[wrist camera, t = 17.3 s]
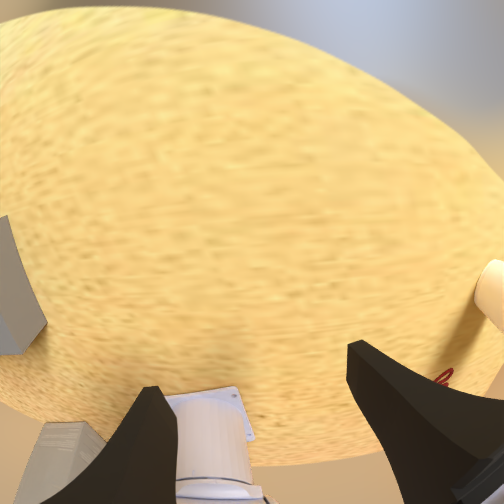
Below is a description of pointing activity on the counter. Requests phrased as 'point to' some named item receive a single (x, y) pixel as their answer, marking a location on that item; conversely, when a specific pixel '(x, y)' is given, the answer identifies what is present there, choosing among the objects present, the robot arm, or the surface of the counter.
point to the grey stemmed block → (16, 299)
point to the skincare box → (57, 460)
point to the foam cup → (492, 293)
